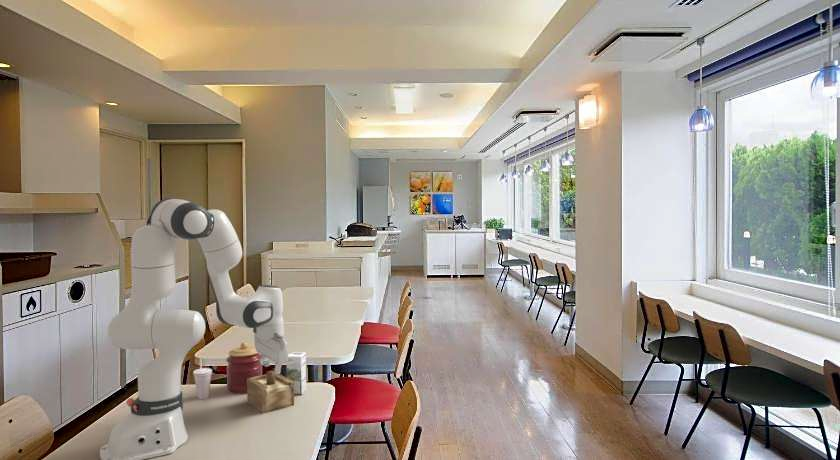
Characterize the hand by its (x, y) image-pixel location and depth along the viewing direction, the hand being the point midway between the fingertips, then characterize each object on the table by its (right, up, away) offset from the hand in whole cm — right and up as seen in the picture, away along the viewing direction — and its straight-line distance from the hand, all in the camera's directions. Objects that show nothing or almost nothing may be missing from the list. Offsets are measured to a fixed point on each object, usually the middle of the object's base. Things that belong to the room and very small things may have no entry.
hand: (271, 369), depth 181 cm
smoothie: (-27, -12, +7) cm, 30 cm away
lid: (0, -6, 0) cm, 6 cm away
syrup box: (+6, -12, +11) cm, 17 cm away
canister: (-15, -12, +16) cm, 25 cm away
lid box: (-1, -12, +1) cm, 12 cm away
